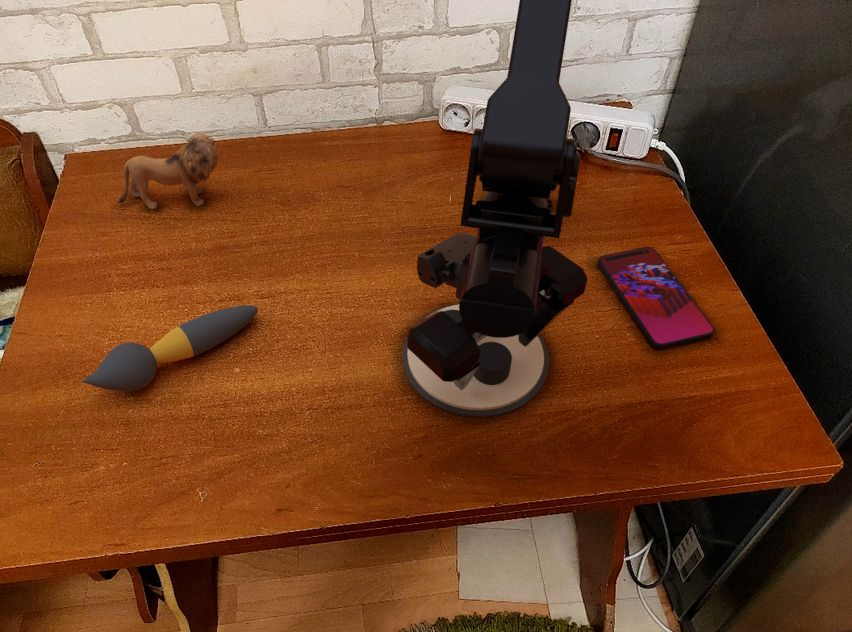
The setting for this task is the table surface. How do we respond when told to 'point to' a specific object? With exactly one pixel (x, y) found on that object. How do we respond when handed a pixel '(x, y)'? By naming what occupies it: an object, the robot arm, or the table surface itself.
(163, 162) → the lion figurine
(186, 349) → the paintbrush
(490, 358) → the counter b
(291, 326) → the table surface
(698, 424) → the table surface
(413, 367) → the face circle
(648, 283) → the smartphone
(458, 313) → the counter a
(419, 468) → the table surface
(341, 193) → the table surface
